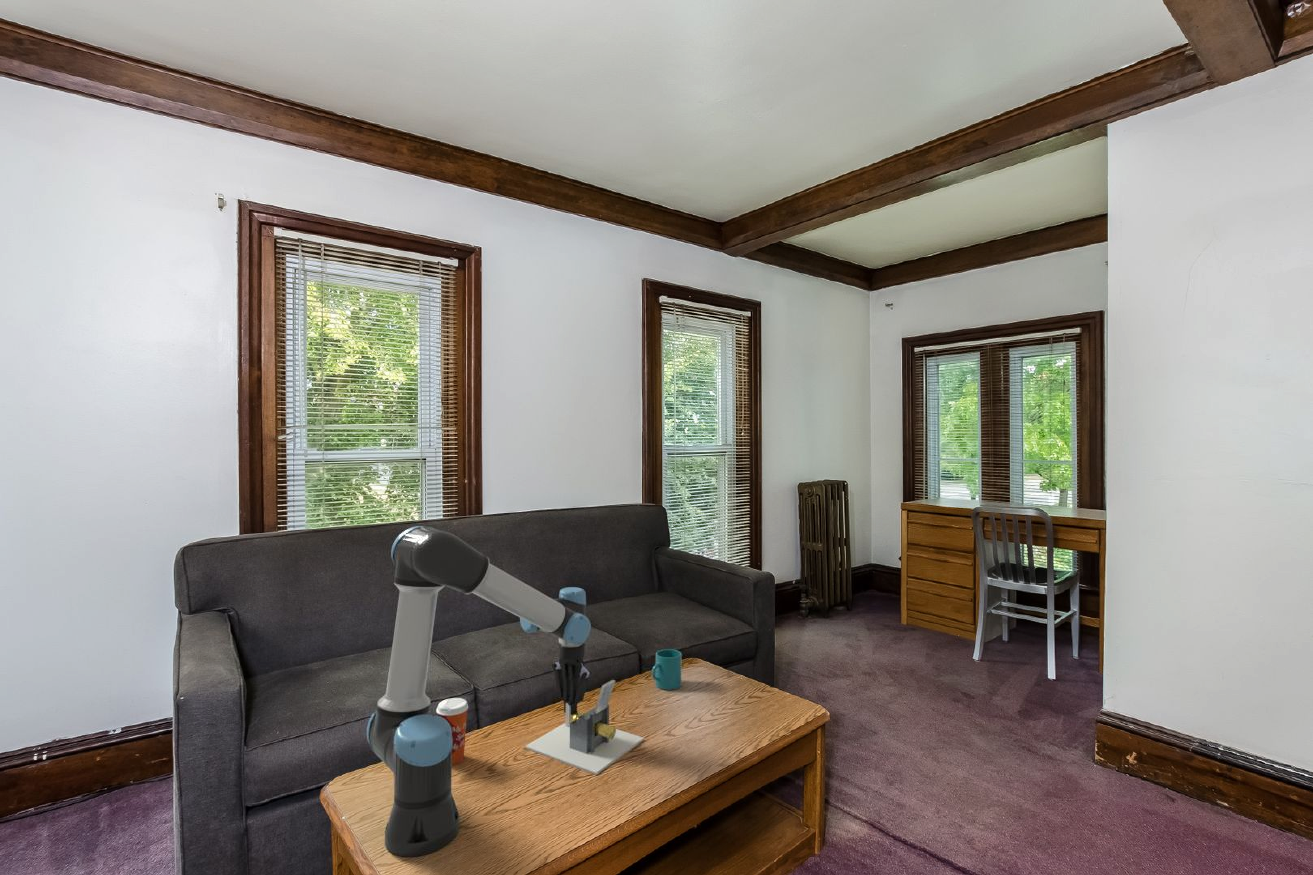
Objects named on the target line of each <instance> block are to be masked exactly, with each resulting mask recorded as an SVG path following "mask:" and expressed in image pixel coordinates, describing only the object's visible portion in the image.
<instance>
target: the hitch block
mask: <svg viewBox="0 0 1313 875" xmlns="http://www.w3.org/2000/svg"><path fill="white" fill-rule="evenodd" d="M594 709H595V707H593V708H592V709H590V710H588V711H586V712H584V713H585V714H583V715H581V716H580V717H578V719H576V720H575V721H573V722H571V723H570V748H571V749H574V750H577V751H580V752H582V753H585V754H587V753H589V752H591V753H593V752H594V749H595V748H596V747H598V746H599V745H601V744H602V743H604V742H606V743H608V742H609V738H607V737H604V736H601V735H598V734H595V723H597V722H600V723H603V724H606V725H609V726H610V704H608V705H607V708H605V709H603V710H602V711H600V712H598V713H597V714H595V713H594Z"/></svg>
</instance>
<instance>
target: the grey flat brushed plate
mask: <svg viewBox="0 0 1313 875" xmlns="http://www.w3.org/2000/svg"><path fill="white" fill-rule="evenodd" d="M615 683H616V680H614V679H611V680H610V681H608V682H606V683H604V684H602V685H601V687H600V688H601V689H600V690H599V692H600V693H598V694H599V695H598V698H597V702H596V703H595V707H594V708H595V709H594V713H595V714H597V713H598V712H600V711H602V710H603V709H605V708H607V705H609V701H610V698H611V696H612V693H613V689H614V686H615Z"/></svg>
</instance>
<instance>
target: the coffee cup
mask: <svg viewBox="0 0 1313 875" xmlns="http://www.w3.org/2000/svg"><path fill="white" fill-rule="evenodd" d="M468 709H469V705H468V702H467V700H466V699H465V698H461V697H452V698H447V699H444V700H442V701H440V702H439V703H438V705H437V707H436V711H435V712H436V714H437V716H440V717H442V718H444V719H445V720H446V721H447V722H448V723H449V724H450V727H451V733H452V738H453V744H452V766H454V765H455V766H456V765H457V764H460V763H461V762H463V760H464V758H465V746H466V745H465V744H466V733H467V732H466V731H467V720H468V719H467V718H468V717H467V716H468Z"/></svg>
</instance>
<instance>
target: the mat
mask: <svg viewBox="0 0 1313 875" xmlns="http://www.w3.org/2000/svg"><path fill="white" fill-rule="evenodd" d="M644 740H645V738H644V737H642V736H639V735H636V734H633V733H630V732H627V731H623V730H619V729H617V728H616V734H615V736H614V738H613V739H610V738H609V742H608V743H606V742H604V743H602V744H601V745H599V746H598V747H596V748H595V749H594V752H593V753H591V752H589V753H587V754H585V753H582V752H580V751H577V750H574V749H571V748H570V727H566V726H565V722H564V723H562V724H560V725H559V726H557V727H556V728H554V729H552V730H550V731H549V732H547V733H545V734H543V735H542V736H540V737H538V738H537V739H535V740H533V741H532V742H530V743H528V744H526V745H525V746H524V749H526V750H528V751H532V752H534V753H536V754H539V755H542V756H545V757H548V758H550V759H552V760H556V761H558V762H561V763H564V764H566V765H568V766H571V767H573V768H576V769H579V770H582V771H584V772H587V773H588V774H592V775H595V776H598V775H599V774H600V773H602V772H603V771H604V770H606V768H608V767H609V766H611V765H612V764H614V763H615V762H616V761H618V760H619V759H620V758H622V757H623V756H624V755H626V754H627V753H629V752H630V751H631V750H632V749H634V748H635V747H637V746H638V745H640V744H641V743H642V742H643V741H644ZM636 745H637V746H636ZM625 753H626V754H625Z"/></svg>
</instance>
